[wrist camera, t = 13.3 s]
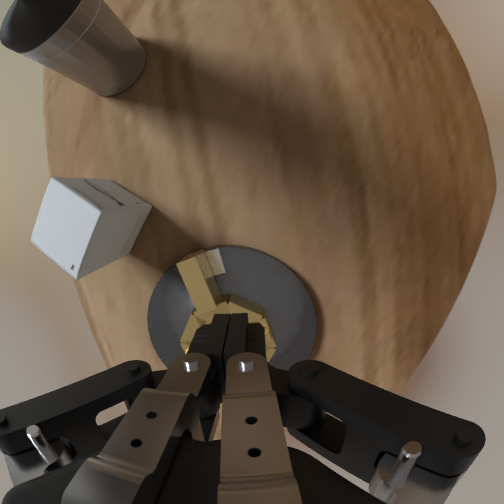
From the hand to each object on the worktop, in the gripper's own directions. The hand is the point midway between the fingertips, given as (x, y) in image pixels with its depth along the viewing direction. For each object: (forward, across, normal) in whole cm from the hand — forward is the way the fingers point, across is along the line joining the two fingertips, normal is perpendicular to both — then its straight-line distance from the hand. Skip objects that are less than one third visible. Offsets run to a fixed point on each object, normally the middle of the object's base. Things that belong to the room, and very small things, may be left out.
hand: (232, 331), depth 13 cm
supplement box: (+22, +16, -5) cm, 28 cm away
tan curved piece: (+20, +4, +8) cm, 22 cm away
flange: (+22, +3, +11) cm, 25 cm away
